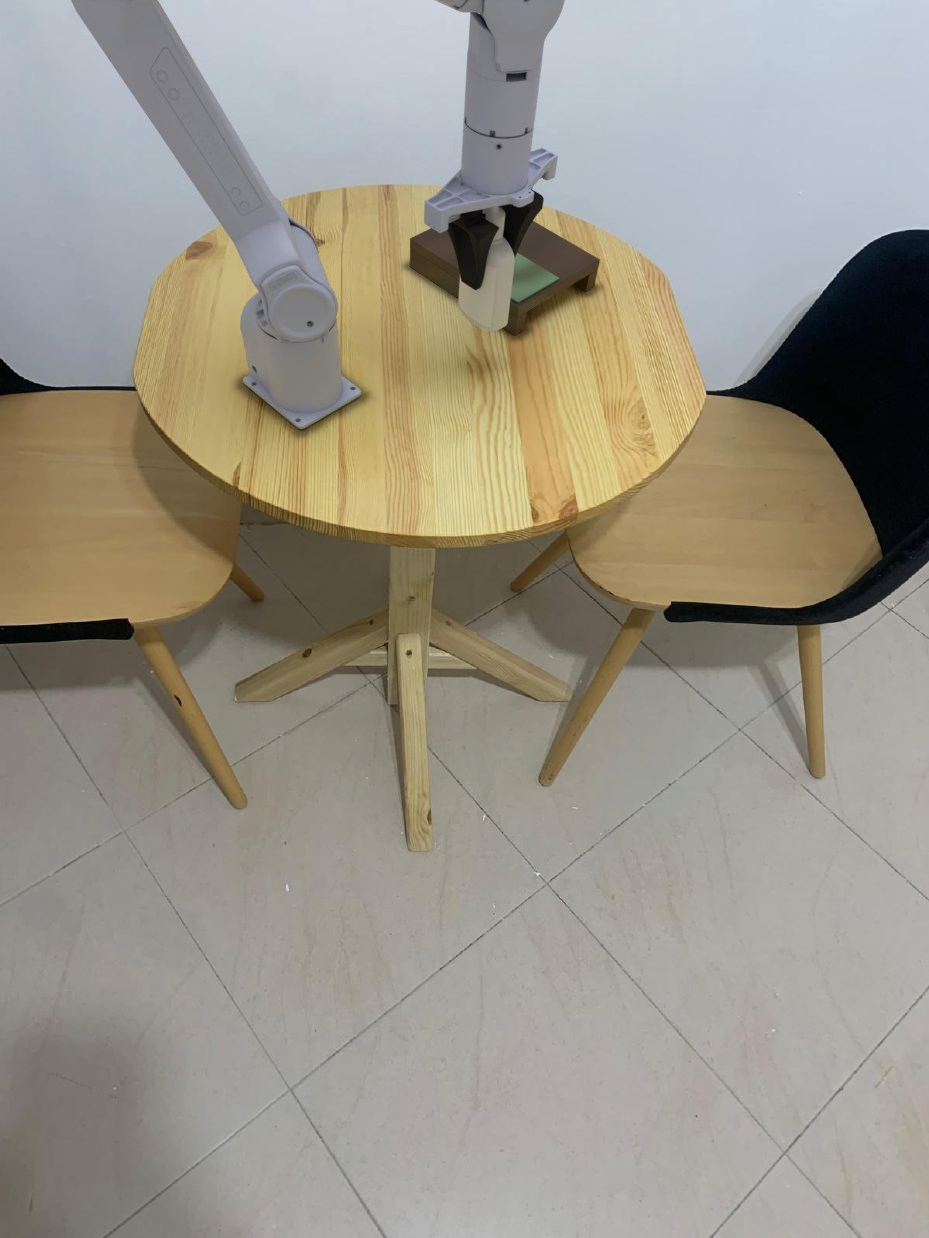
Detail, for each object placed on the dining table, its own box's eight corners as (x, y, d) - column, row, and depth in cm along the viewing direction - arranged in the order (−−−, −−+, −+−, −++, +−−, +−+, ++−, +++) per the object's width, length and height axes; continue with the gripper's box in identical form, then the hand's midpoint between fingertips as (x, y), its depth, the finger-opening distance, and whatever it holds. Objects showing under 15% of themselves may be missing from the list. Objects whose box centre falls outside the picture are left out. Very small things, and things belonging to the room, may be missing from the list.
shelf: (409, 266, 91) (409, 236, 88) (490, 225, 97) (493, 196, 94) (514, 335, 85) (518, 306, 82) (594, 287, 91) (600, 258, 88)
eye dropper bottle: (466, 336, 75) (474, 215, 65) (455, 301, 78) (462, 180, 68) (509, 333, 76) (524, 213, 66) (497, 298, 79) (510, 178, 69)
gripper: (470, 170, 58) (460, 327, 69) (594, 114, 64) (566, 267, 75) (406, 133, 60) (407, 290, 71) (531, 83, 66) (513, 235, 78)
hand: (485, 276), depth 73 cm, fingers closed on eye dropper bottle, 3 cm apart
